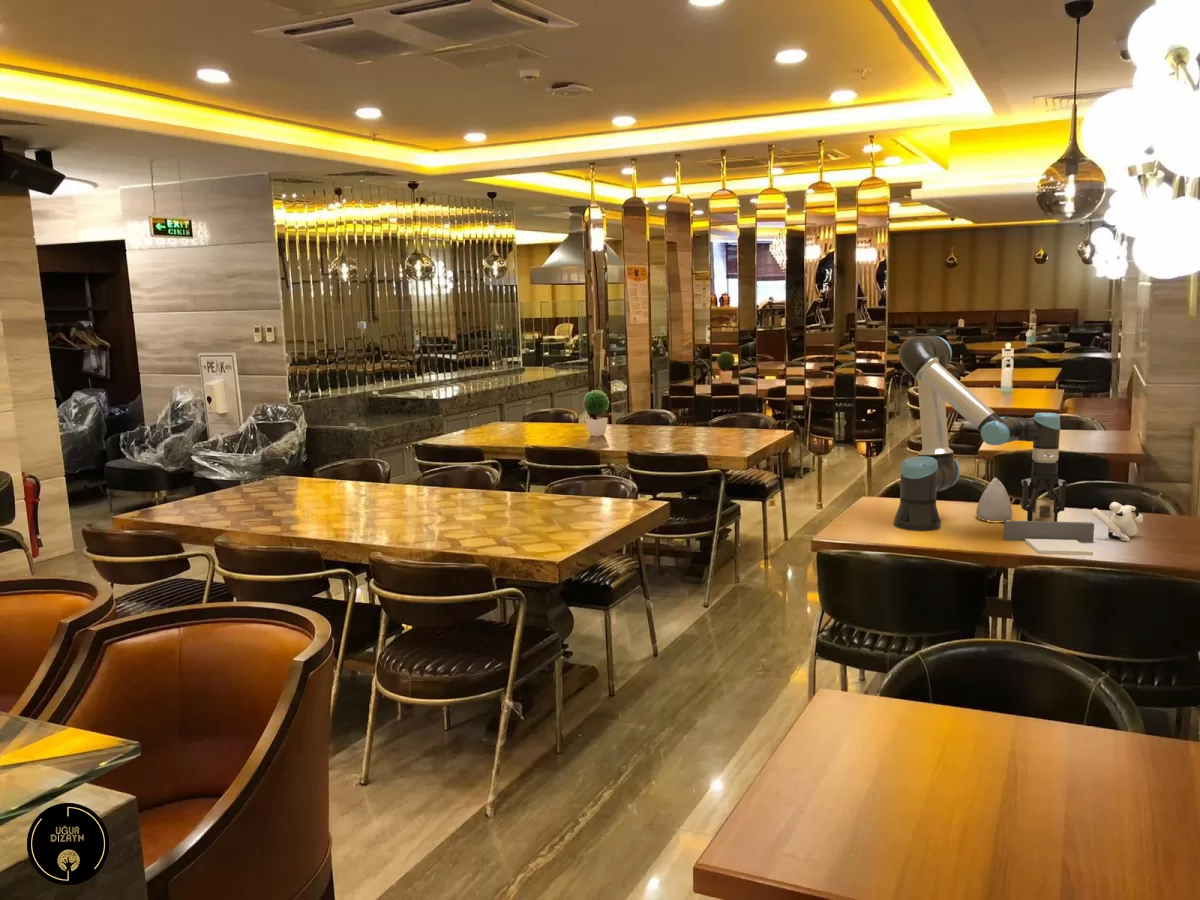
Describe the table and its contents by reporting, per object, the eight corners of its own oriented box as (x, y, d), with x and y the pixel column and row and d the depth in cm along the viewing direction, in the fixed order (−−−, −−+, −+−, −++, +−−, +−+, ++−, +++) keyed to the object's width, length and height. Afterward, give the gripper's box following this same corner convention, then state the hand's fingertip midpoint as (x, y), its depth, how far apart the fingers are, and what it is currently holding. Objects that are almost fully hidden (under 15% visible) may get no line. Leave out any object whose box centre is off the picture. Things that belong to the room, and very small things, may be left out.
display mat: (1038, 553, 273) (1039, 550, 273) (1024, 541, 287) (1025, 538, 287) (1092, 554, 270) (1092, 551, 270) (1075, 543, 285) (1076, 539, 285)
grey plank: (1005, 540, 290) (1006, 521, 289) (1003, 538, 292) (1004, 520, 291) (1093, 542, 285) (1094, 523, 284) (1090, 540, 287) (1092, 522, 286)
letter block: (1035, 537, 293) (1037, 500, 292) (1030, 533, 298) (1032, 497, 297) (1052, 537, 292) (1054, 501, 291) (1047, 534, 297) (1049, 498, 296)
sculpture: (1020, 522, 316) (1022, 479, 313) (990, 524, 313) (992, 481, 311) (996, 515, 328) (998, 474, 326) (967, 517, 325) (969, 475, 323)
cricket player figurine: (1131, 554, 288) (1115, 527, 280) (1103, 539, 297) (1088, 513, 289) (1160, 525, 288) (1145, 497, 280) (1132, 512, 297) (1117, 484, 289)
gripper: (1018, 462, 290) (1015, 533, 293) (1079, 463, 287) (1075, 535, 290) (1012, 459, 297) (1008, 528, 300) (1071, 459, 294) (1067, 530, 297)
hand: (1041, 531), depth 295 cm, fingers closed on letter block, 5 cm apart
